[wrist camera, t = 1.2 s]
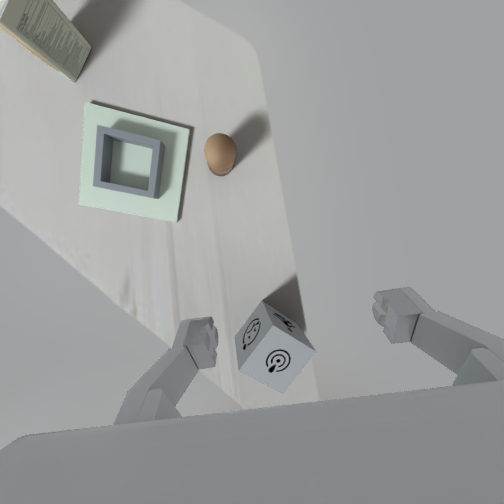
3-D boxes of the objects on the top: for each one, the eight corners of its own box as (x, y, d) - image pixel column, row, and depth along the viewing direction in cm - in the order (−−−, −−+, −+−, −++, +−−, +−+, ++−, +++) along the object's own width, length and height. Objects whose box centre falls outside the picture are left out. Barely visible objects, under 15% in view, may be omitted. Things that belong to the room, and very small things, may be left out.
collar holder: (82, 204, 37) (66, 204, 34) (88, 104, 35) (72, 91, 31) (177, 222, 40) (173, 223, 36) (190, 131, 38) (186, 122, 34)
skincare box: (64, 26, 32) (-25, -78, 21) (93, 47, 33) (24, -40, 22) (45, 66, 33) (-53, -13, 21) (74, 85, 34) (-4, 20, 22)
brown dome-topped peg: (206, 173, 39) (202, 163, 31) (210, 147, 39) (207, 129, 30) (230, 178, 40) (233, 170, 31) (234, 153, 39) (239, 138, 31)
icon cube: (270, 357, 49) (283, 393, 40) (234, 336, 47) (238, 370, 37) (296, 322, 48) (316, 351, 39) (261, 300, 46) (273, 325, 36)
